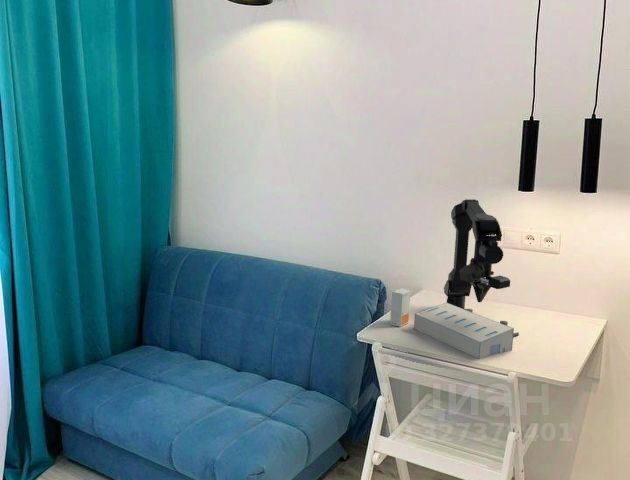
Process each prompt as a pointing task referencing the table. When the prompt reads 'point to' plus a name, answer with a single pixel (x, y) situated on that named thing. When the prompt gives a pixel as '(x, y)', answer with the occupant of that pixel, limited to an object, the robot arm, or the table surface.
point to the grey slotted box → (465, 330)
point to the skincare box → (400, 307)
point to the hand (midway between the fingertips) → (479, 302)
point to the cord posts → (500, 322)
